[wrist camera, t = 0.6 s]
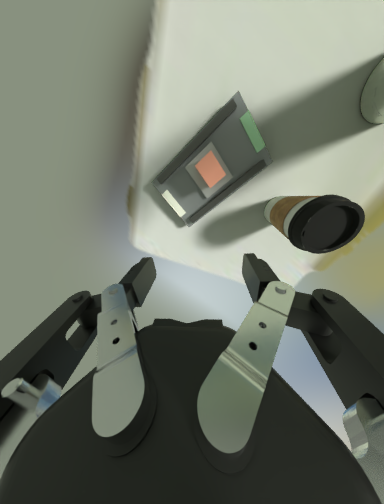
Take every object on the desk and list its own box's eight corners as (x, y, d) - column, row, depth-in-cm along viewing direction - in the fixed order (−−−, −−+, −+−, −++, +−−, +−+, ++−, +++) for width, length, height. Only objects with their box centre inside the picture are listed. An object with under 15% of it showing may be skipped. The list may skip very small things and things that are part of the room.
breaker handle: (211, 142, 24) (213, 131, 19) (232, 177, 26) (239, 176, 21) (185, 167, 26) (181, 164, 21) (207, 198, 28) (208, 202, 23)
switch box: (234, 100, 24) (240, 85, 20) (265, 163, 27) (275, 160, 24) (155, 182, 30) (149, 182, 27) (190, 223, 34) (188, 229, 30)
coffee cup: (259, 193, 30) (305, 202, 17) (301, 186, 29) (385, 191, 16) (257, 229, 34) (292, 260, 20) (293, 225, 33) (357, 254, 19)
